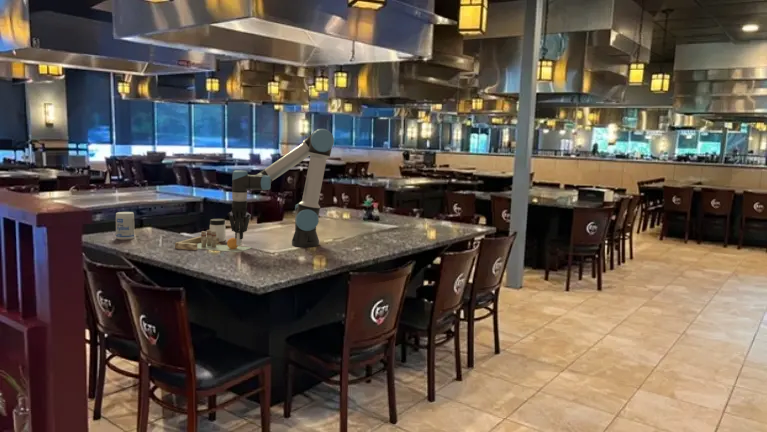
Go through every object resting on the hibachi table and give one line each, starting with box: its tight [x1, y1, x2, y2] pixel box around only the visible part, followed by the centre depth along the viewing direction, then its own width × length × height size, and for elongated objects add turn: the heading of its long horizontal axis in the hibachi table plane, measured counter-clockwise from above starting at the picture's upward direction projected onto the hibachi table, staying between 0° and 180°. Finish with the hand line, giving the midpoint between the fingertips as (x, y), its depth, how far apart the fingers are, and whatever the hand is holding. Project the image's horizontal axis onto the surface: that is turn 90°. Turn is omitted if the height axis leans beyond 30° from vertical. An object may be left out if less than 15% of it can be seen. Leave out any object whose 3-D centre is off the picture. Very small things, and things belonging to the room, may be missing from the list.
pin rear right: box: [206, 229, 212, 246], centre depth 308 cm, size 2×2×8 cm
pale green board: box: [197, 243, 253, 253], centre depth 304 cm, size 32×14×1 cm, turn 74°
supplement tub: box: [115, 211, 135, 241], centre depth 321 cm, size 10×10×15 cm
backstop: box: [174, 235, 220, 251], centre depth 307 cm, size 12×22×3 cm, turn 164°
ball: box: [226, 237, 238, 249], centre depth 301 cm, size 6×6×6 cm
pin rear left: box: [200, 230, 207, 247], centre depth 303 cm, size 2×2×8 cm
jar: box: [209, 218, 226, 243], centre depth 324 cm, size 9×8×12 cm
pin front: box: [211, 231, 216, 247], centre depth 304 cm, size 2×2×8 cm
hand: (239, 245), depth 300 cm, fingers closed
